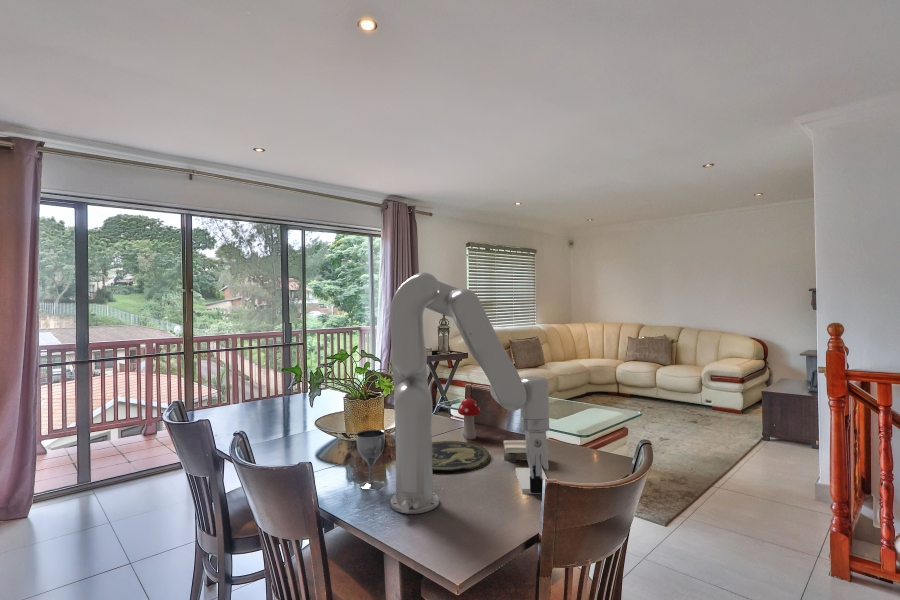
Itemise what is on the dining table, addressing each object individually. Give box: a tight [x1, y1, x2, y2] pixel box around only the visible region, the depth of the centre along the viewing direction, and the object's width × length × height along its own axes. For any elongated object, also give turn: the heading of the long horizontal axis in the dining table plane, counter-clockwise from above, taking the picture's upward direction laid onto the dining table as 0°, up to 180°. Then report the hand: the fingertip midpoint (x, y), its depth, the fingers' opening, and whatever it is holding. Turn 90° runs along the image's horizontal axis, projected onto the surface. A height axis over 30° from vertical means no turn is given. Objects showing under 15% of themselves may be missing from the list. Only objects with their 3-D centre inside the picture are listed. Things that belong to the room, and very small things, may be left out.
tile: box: [515, 467, 548, 495], centre depth 133 cm, size 16×8×2 cm, turn 178°
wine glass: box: [356, 429, 386, 490], centre depth 133 cm, size 8×8×15 cm
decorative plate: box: [432, 440, 491, 475], centre depth 156 cm, size 30×2×30 cm
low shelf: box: [503, 439, 527, 463], centre depth 150 cm, size 8×13×6 cm, turn 87°
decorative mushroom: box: [457, 397, 481, 440], centre depth 180 cm, size 10×9×15 cm
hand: (536, 491), depth 124 cm, fingers closed
